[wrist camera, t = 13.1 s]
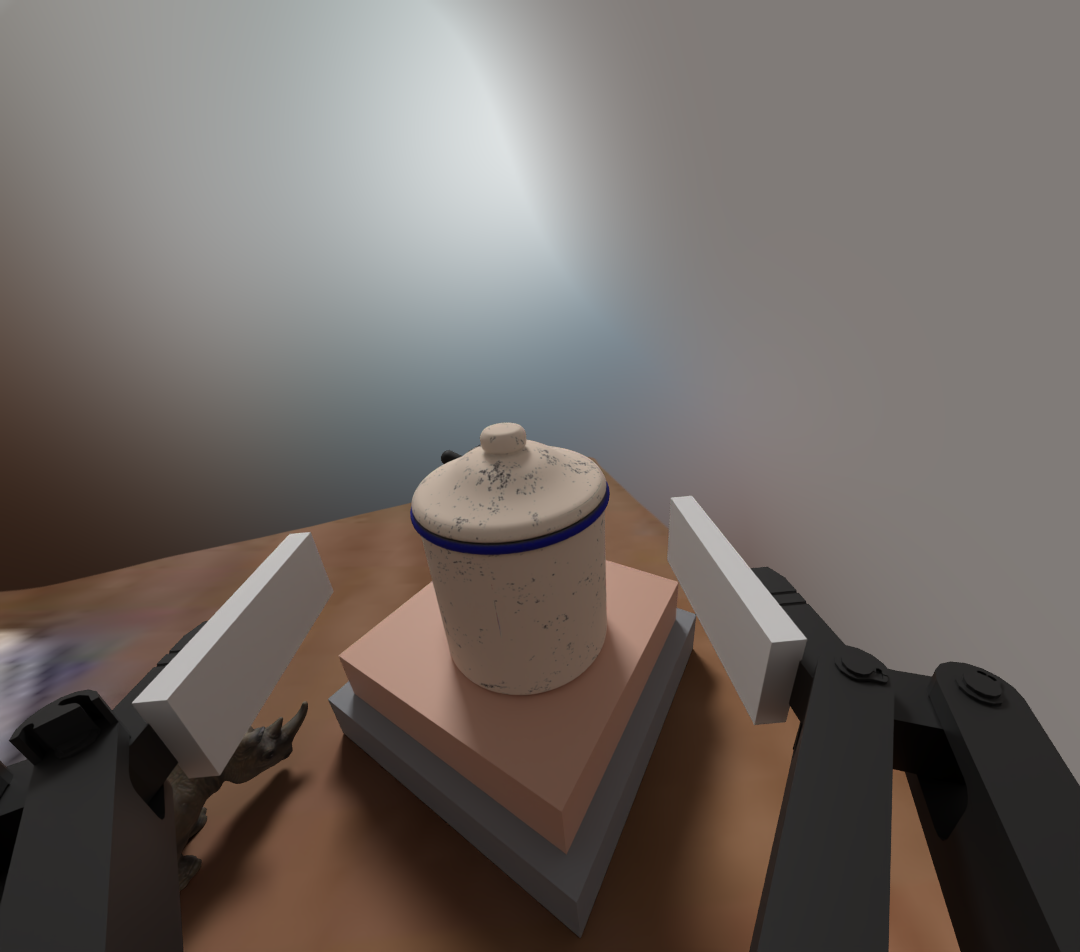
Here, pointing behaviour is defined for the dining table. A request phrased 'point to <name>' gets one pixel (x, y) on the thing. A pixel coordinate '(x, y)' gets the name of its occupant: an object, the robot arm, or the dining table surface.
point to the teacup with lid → (517, 560)
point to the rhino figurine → (246, 763)
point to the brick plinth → (501, 829)
